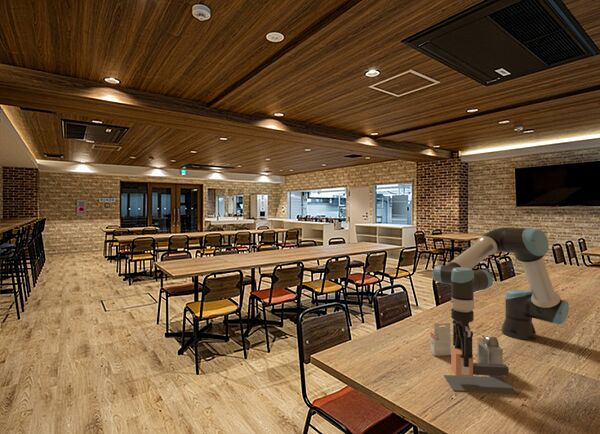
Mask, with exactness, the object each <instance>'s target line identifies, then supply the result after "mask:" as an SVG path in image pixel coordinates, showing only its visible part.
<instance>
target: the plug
mask: <svg viewBox="0 0 600 434" xmlns="http://www.w3.org/2000/svg"><path fill="white" fill-rule="evenodd" d="M460 356H462V349H455V348H451V355H450V360H451V362H450V363H451V365H450V366H451V367H450V370H452V372H453V373H454V375H456V376H488V375H494V376H503V377H509V371H510V370H509V369H510V368H509V367H508V365H506V364H505V363H503V364H485V363H477V362H474V354H473V353H472V358H469V375H462V374H461V357H460Z"/></svg>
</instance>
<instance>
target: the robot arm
mask: <svg viewBox="0 0 600 434" xmlns="http://www.w3.org/2000/svg"><path fill="white" fill-rule="evenodd" d="M476 239H477V240H476V242H475V243H474V244H472V245H471V246H470V247H468V248H467V249H466V250H464V251H463V252H462V253H460V254H459V255H458V256H455V258H454V259H452V260H451V261H449V262H448V263H447V264H446V265H444V264H441V265H440V264H438V265H435V267H434V268H433V270H432V278H433V280H434V281H435V282H437V283H440V284H442V285H450V286H451V297H450V298H451V300H449V303H451V310H450V311H451V313H450V315H451V316H450V317H451V319H452V326H453V327H452V346H454V349H462V356H460V357H461V374H462V375H469V358H472V354H473V337H474V332H473V331H470V330H471V328H470V324H469V323H472V322H473V321H474V320H475V319H474V315H475V314H474V311H473V310H475V308H474V307H475V303H474V302H475V299H474V293H475V292H478V291H484V290H486V289H489V288H491V287H492V285H493V283H494V279H493V276H492V273H490V272H489V271H487V270H485V269H477V270H475V269H473V268H475V267H476V266H477V265H478V264H480V263H481V262H483V260H485V259H486V258H487V257H489V256H492V255H495V254H496V253H511V254H513V255H514V257H515V259H516V260H517V261H518V262H520V264H521V266H522V268H523V270H524V274H525V277H526V279H527V282H528V285H529V287H530V290H529V289H509V290H506V292H505V298H504V299H505V300H504V301H505V318H504V320H503V324H502V326H501V333H502V334H504V335H505V336H507V337H511V338H513V339H519V340H535V339H536V338H537V332H536V329H535V326H534V323H533V319H535V320H538V321H543V322H546V323H550V324H555V325H556V324H557V325H563V324H564V323H565V321H566V320H567V318H568V316H569V311H570V306H569V305H570V304H569V302H568V301H567V300H565V299H561V296H560V294H559V293H558V292H556V291H555V290H554V286H553V284H552V281H551V279H550V276H549V275H550V274H549V272H548V269H547V266H546V263H545V259H544V257H545V256H546V254H547V252H548V250H549V240H548V237H547V235H546V233H545V232H544V231H543V229H538V228H532V227H526V228H525V227H524V228H523V227H505V226H504V227H499V228H495V229H492V230H490V231H488V232H485V233H484V234H482V235H481V236H480V237H478V238H476Z"/></svg>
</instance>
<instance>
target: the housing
mask: <svg viewBox="0 0 600 434" xmlns="http://www.w3.org/2000/svg"><path fill="white" fill-rule="evenodd" d="M476 340H477V342H476V344H477V345H476V346H477V347H476V348H477V349H476V353H477V354H476V356H477V357H476V359H477V360H476V363H485V364H504V362H503V360H504V359H503V358H504V355H503V354H504V349H503V348H501V347H500V344H499V340H498V338H497V337H495V336H483V337H482V338H480V337H478V338H477V339H476ZM487 377H503V378H504V376H494V375H487Z"/></svg>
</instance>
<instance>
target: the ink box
mask: <svg viewBox="0 0 600 434" xmlns="http://www.w3.org/2000/svg"><path fill="white" fill-rule="evenodd" d="M433 326H434V327H433V328H434V331H430V354H431V355H432V356H434V357H439V356H440V357H441V356H443V357H444V356H451V349H452V347H451V345H452V344H451V341H452V340H451V338H452V336H451V322H447V323H434V325H433Z"/></svg>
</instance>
